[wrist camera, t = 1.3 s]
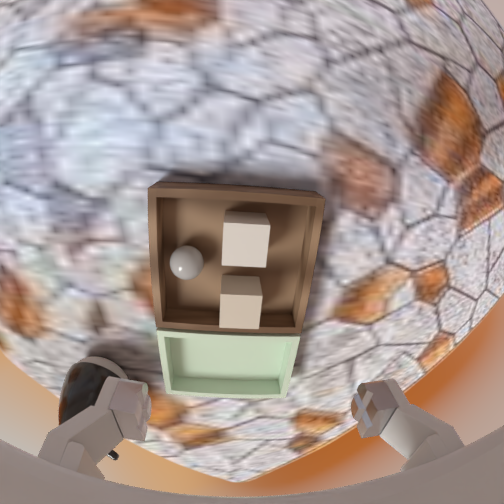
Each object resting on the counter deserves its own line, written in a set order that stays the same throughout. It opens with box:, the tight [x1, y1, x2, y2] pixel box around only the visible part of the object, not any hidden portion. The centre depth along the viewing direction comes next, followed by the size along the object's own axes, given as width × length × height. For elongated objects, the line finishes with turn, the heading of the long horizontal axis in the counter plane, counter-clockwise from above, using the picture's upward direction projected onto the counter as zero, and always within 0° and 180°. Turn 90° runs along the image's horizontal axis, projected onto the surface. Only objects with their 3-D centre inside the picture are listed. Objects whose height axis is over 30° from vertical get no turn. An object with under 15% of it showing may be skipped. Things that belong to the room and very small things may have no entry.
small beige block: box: [222, 211, 270, 268], centre depth 28 cm, size 4×4×4 cm
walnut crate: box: [148, 182, 325, 333], centre depth 30 cm, size 15×16×4 cm
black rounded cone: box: [59, 356, 129, 460], centre depth 30 cm, size 10×10×15 cm
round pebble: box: [170, 245, 204, 280], centre depth 29 cm, size 3×3×3 cm
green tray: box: [157, 327, 300, 398], centre depth 35 cm, size 11×16×4 cm
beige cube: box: [219, 275, 263, 329], centre depth 30 cm, size 4×4×4 cm
